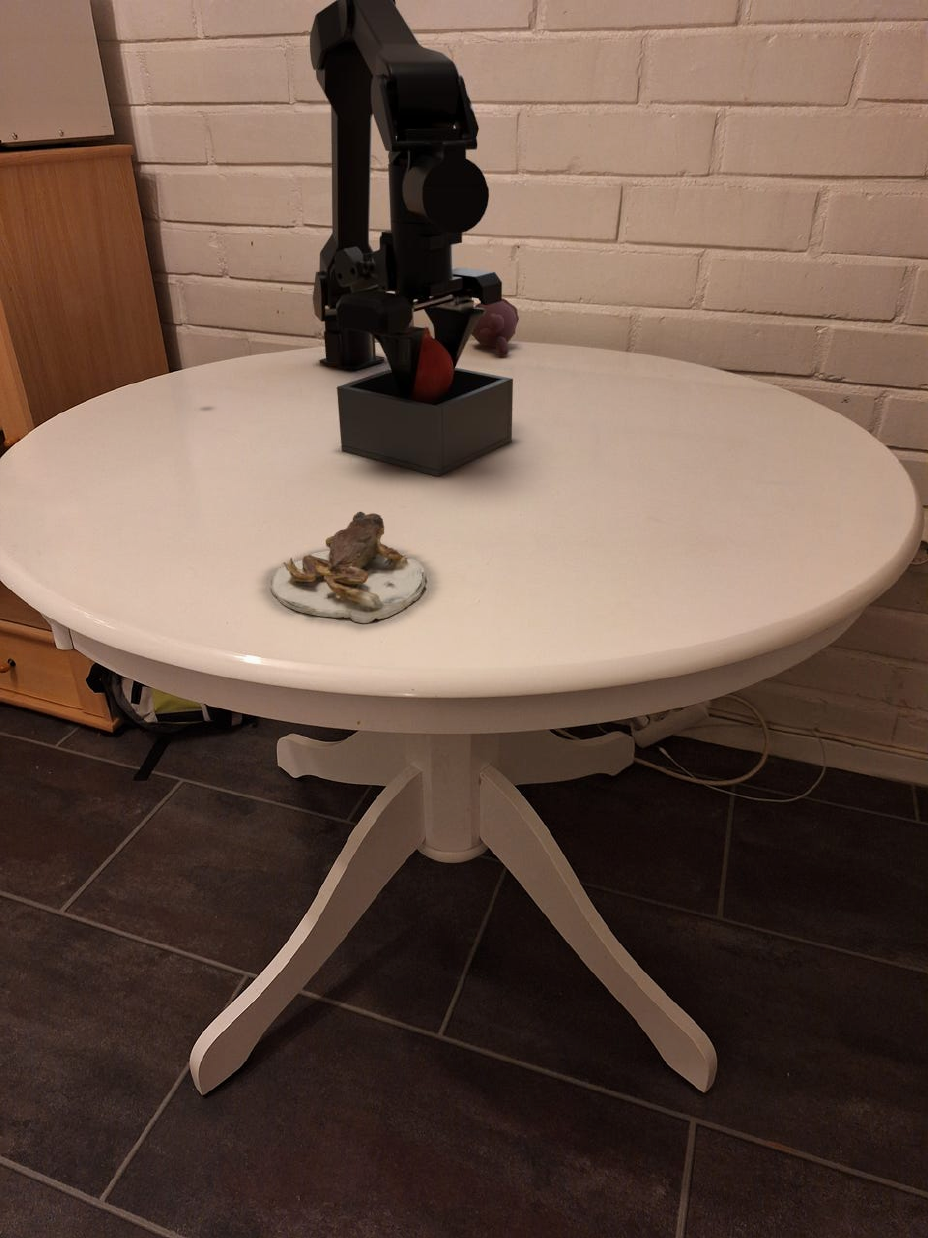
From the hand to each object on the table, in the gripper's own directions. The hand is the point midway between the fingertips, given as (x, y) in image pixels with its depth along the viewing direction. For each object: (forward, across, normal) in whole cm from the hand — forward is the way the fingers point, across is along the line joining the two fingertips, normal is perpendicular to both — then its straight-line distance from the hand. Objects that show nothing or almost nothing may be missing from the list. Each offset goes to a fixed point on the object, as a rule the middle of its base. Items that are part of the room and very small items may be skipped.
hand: (425, 387), depth 91 cm
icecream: (+6, -39, -19) cm, 44 cm away
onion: (+2, 0, 0) cm, 2 cm away
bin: (+6, 0, 0) cm, 6 cm away
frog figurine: (+6, +27, +14) cm, 31 cm away
